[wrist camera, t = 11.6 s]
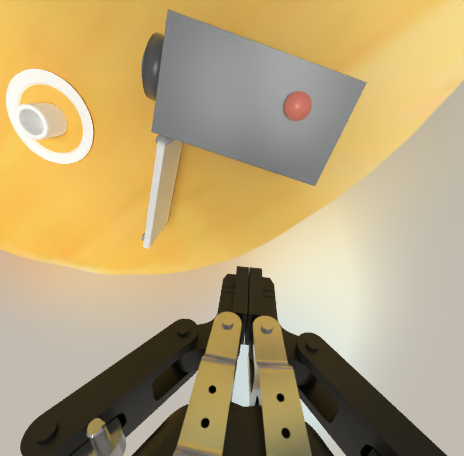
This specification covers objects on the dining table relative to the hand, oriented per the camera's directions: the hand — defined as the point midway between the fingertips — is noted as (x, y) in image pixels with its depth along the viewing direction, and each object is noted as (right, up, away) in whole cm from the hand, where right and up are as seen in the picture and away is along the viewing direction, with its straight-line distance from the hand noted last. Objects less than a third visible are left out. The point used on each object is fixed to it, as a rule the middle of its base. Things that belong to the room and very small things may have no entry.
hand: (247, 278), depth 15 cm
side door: (-10, +10, +21) cm, 26 cm away
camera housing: (0, +19, +16) cm, 25 cm away
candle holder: (-26, +18, +20) cm, 38 cm away
